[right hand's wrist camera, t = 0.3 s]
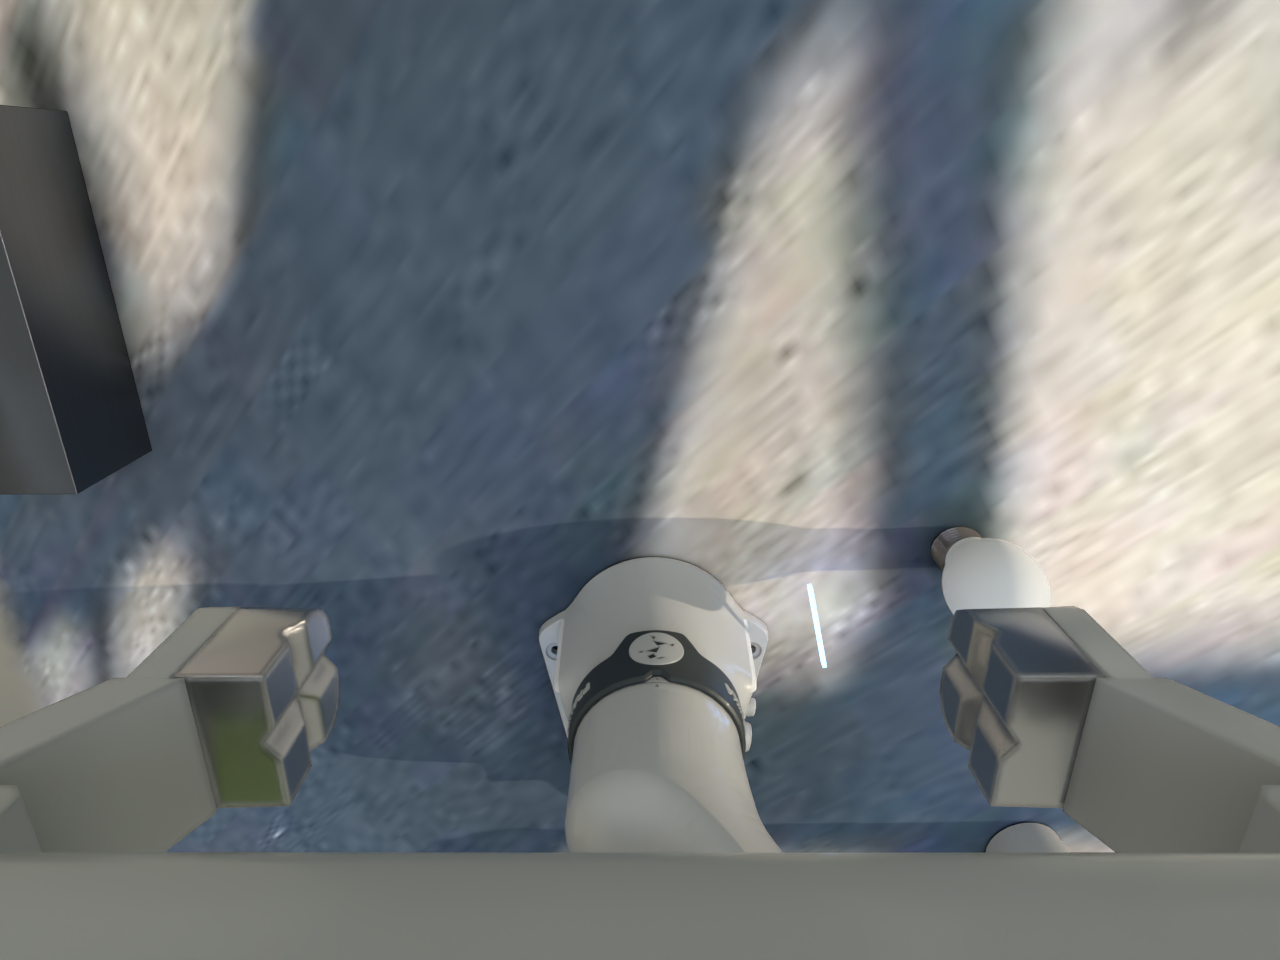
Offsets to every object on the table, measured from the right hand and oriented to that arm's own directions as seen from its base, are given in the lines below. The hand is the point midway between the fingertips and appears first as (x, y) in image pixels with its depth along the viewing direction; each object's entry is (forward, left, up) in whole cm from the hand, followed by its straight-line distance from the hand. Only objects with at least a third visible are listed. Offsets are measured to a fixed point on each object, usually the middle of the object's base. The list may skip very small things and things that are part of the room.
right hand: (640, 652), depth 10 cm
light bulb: (-22, -25, -47) cm, 58 cm away
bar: (-2, +40, -47) cm, 61 cm away
